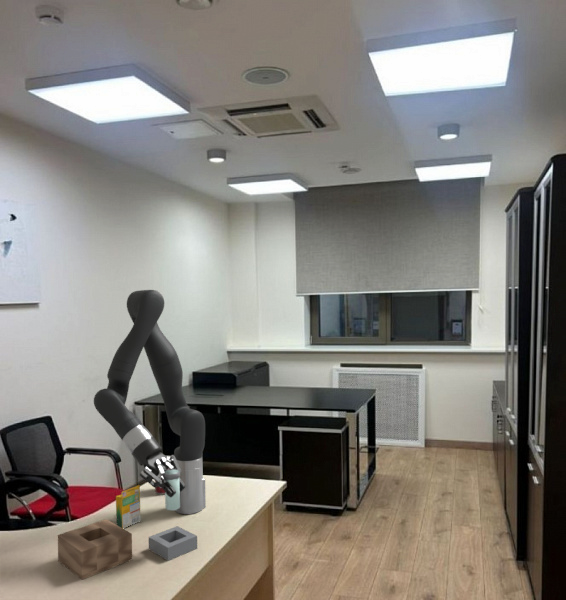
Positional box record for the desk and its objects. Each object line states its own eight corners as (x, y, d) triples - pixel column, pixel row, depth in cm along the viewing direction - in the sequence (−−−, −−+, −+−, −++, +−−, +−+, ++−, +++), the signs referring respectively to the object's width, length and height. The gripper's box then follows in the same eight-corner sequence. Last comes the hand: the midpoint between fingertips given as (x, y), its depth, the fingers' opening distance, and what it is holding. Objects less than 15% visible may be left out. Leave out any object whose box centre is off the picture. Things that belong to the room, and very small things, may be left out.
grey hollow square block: (177, 538, 158) (177, 526, 158) (197, 548, 151) (197, 535, 151) (148, 549, 151) (148, 536, 151) (168, 560, 144) (168, 547, 144)
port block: (106, 543, 155) (106, 519, 155) (132, 559, 145) (131, 533, 145) (58, 561, 145) (57, 535, 145) (82, 579, 135) (81, 551, 135)
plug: (175, 503, 154) (174, 468, 154) (184, 507, 151) (183, 471, 151) (161, 507, 151) (160, 472, 151) (170, 512, 148) (169, 475, 148)
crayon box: (134, 519, 171) (134, 483, 171) (141, 521, 170) (140, 484, 170) (115, 527, 165) (115, 490, 165) (122, 530, 164) (121, 491, 164)
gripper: (132, 443, 147) (170, 493, 142) (164, 430, 160) (200, 475, 155) (118, 460, 149) (154, 510, 145) (150, 446, 162) (185, 491, 158)
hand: (178, 492), depth 150 cm, fingers closed on plug, 4 cm apart
